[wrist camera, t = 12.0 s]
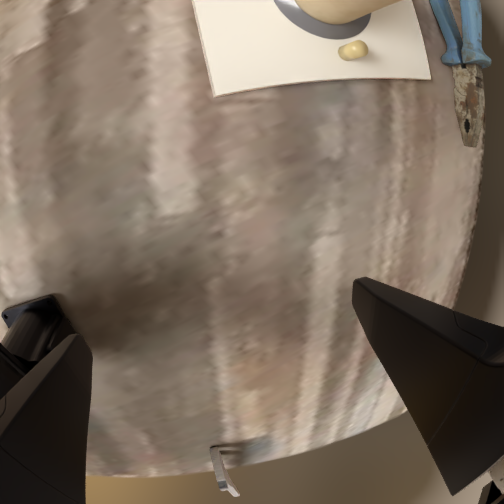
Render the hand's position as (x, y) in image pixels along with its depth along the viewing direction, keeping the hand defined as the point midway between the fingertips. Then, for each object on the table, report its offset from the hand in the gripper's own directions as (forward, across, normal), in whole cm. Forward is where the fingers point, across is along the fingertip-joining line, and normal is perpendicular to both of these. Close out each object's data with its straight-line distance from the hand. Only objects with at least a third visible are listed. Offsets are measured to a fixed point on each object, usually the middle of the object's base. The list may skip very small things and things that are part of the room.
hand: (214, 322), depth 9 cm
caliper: (+11, +6, +39) cm, 41 cm away
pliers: (+15, -23, -12) cm, 30 cm away
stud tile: (+14, -10, -14) cm, 22 cm away
